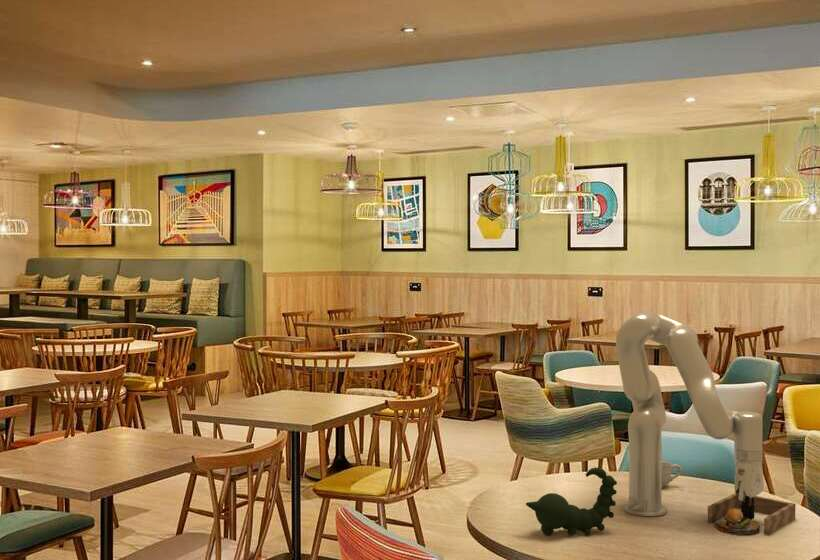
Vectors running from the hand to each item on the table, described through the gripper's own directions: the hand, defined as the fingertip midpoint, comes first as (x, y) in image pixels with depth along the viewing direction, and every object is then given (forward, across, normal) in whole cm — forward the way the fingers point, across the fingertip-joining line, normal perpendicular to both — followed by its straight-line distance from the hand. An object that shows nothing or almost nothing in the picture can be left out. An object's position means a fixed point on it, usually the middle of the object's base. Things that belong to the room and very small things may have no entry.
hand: (747, 518), depth 246 cm
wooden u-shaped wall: (+1, +3, 0) cm, 4 cm away
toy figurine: (+2, -43, +32) cm, 54 cm away
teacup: (+2, +19, +37) cm, 41 cm away
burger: (+2, -7, 0) cm, 7 cm away
